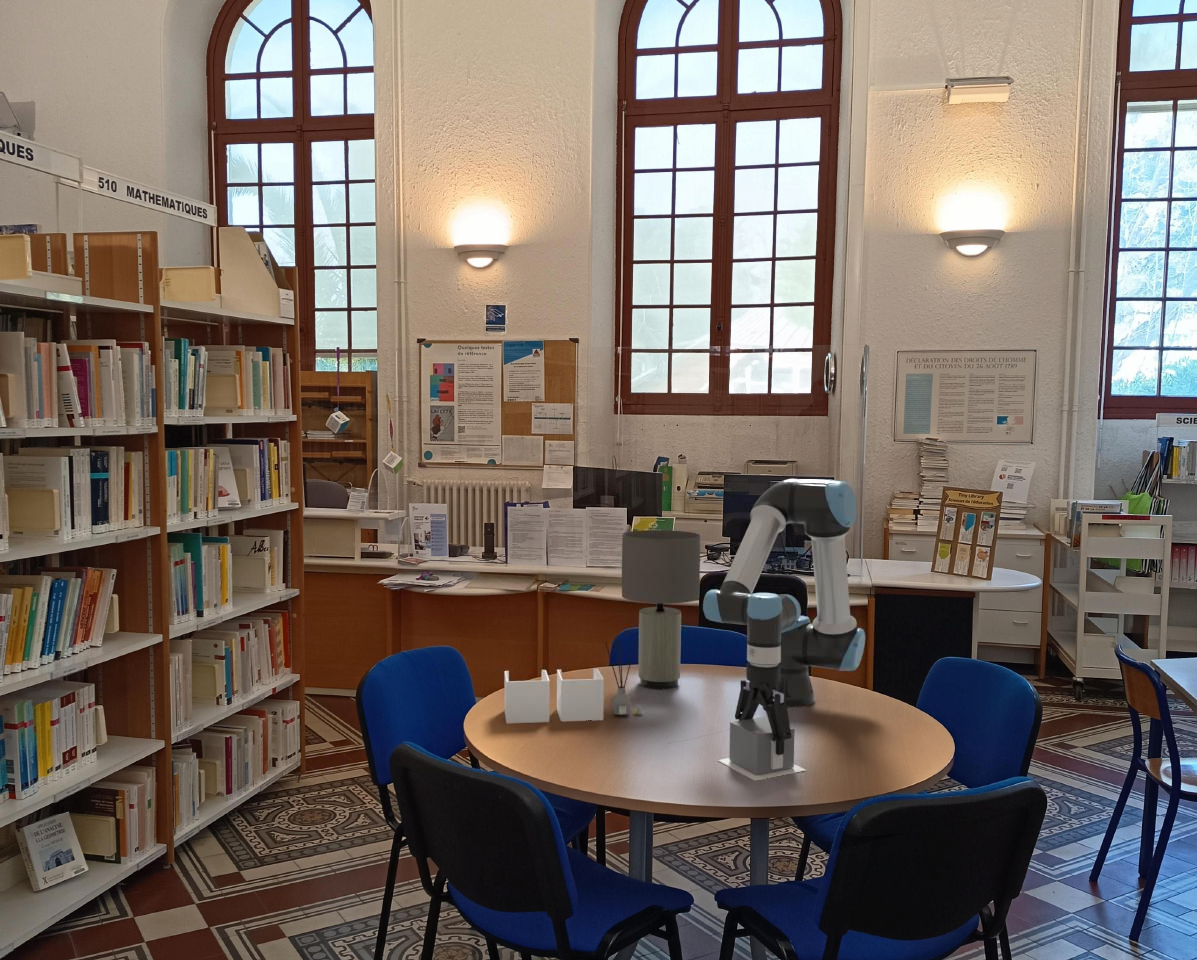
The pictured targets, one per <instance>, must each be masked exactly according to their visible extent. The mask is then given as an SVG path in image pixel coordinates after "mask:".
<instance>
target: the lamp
mask: <svg viewBox="0 0 1197 960" xmlns="http://www.w3.org/2000/svg"><path fill="white" fill-rule="evenodd" d="M621 540H622V543H621V548H622V549H621V597H622V598H623V599H625V600H628V601H632V602H638V603H645V604H646V603H647V604H656V606H652V607H651V606H650V607H643V608H641V609H639V611H638V612H639V613H638V615H639V616H638V678H639V679H640V681H639V683H640V686H641V687H644V688H646V689H650V690H670V689H671V690H672V689H675V688H677V687H678V686H679V680H680V678H681V649H682V648H681V647H682V646H681V644H682V643H681V642H682V640H681V639H682V638H681V637H682V636H681V634H682V611H681V610H680V609H677V608H674V607H667V606H664V605H665V604H684V603H691V602H695V601H697V600H699V598H700V587H701V586H700V584H701V583H700V581H701V580H700V579H701V573H700V572H701V534H699V533H696V532H691V531H685V530H684V531H681V530H666V529H665V530H664V529H662V530H661V529H660V530H659V529H656V530H655V529H650V530H649V529H647V530H632V531H626V532H625V531H624V532H623V533H622V539H621Z"/></svg>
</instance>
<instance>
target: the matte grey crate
mask: <svg viewBox="0 0 1197 960" xmlns="http://www.w3.org/2000/svg"><path fill="white" fill-rule="evenodd" d="M790 729H791V736H792V737H791V739H785V741H784V754H783V768H778V769H771V739H773V738H774V736H773V733H772V730H771V726H770V723H769V720H768V716H767V715H766V716H760V717H753V719H747V720H741V721H739V720H736V721H735V720H734V721H730V722H729V757H728V758H729V760H730V761H732V762H734V763H735V764H737V765H739V766H741V767H743V768H745V769H747V770H749V771H751V772H752V773H754V774H756V775H758V774H763V773H768V772H773V771H778V770H784V769H789V768H794V764H795V728H794V727H791V726H790ZM785 734H786V733H785ZM778 735H779V733H778Z"/></svg>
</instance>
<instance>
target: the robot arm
mask: <svg viewBox="0 0 1197 960" xmlns="http://www.w3.org/2000/svg"><path fill="white" fill-rule="evenodd" d="M857 510H858V505H857V499H856V495H855V492H854V489H853V487H852V486H851V485H850V484H849V483H848V482H846V481H843V480H842V481H841V480H834V479H811V478H809V479H806V478H805V479H804V478H803V479H802V478H801V479H800V478H789V479H784V480H781V481H779V482H777V483H775V484H773V485H772V486H771V487H770V488H768V489H767V490H766V491H764V492H763V493H762V494H761V495H760V496H759V498H758V499H757V500H756V502H755V503H754V505H753V506H752V509H751V511H750V514H749V518H750V522H749V525H748V527H747V529H746V531H745V534H744V536H743V538H742V541H741V542H740V544H739V547H738V549H737V551H736V554H735V556H734V558H733V560H732V563H731V565H730V567H729V569H728V571H727V574H726V576H725V578H724V580H723V583H722V584H721V586H720V588H719V589H717V588H716V589H710V590H708V591H707V592H706V594H705V595H704V599H703V603H702V611H703V613H704V616H705V619H707V620H709V621H712V622H716V623H721V624H724V623H725V624H732V625H733V624H735V625H742V626H743V625H744V626H747V631H746V632H747V633H746V635H747V636H746V637H747V638H746V640H747V641H746V645H747V647H746V661H748V662H747V663H746V671H745V672H746V677H745V678H746V679H742V680H740V691H739V696H738V700H737V705H736V709H735V714H734V719H735V720H736V721H741V720H747V719H753V718H754V717H755V715H756V712H757V710H758V708H759V705H761V707H762V709H763V710H764V711H765V713H766V716H767V717H768V720H769V723H770V726H771V730H772V733H773V736H774V738H773V739H771V769H778V768H783V754H784V741H785V739H791V737H792V736H791V729H790V727H791V725H790V718H789V712H788V708H789V707H791V708H792V707H795V708H796V707H804V706H809V705H811V704H813V703H814V702H815V692H814V688H813V685H812V681H811V677H810V674H809V667H815V668H816V667H817V668H822V669H823V668H824V669H830V670H837V671H839V672H841V671H848V672H854V671H855V670H857V668H858V667H859V666H860V663H861V661H862V657H863V654H864V649H865V643H866V633H865V630H864V629H863V628H861V627H858V625H857V623H858V622H857V620H856V618H855V617H854V616H852V615H851V609H850V608H851V606H850V594H849V592H850V591H849V579H848V567H847V552H846V551H847V549H846V535H848V533H849V532H850V531H851V527H852V526H854V525H855V523H856V522H857V520H856V519H857ZM788 524H801V525H802V524H803V527H804V533H805V535H807V536H808V537H809V538H810V539H811V541H810V542H811V550H812V551H811V552H812V566H813V576H814V577H813V578H814V587H815V589H814V591H815V598H816V599H815V601H816V610H817V611H816V612H817V615H816V617H815V618H814V619H813V621H812V623H811V619H810V618H809V617H808V616H805V615H801V612H802V610H801V604H800V603H799V601H798V599H796V598H795V597H794V596H793V595H790V594H776V593H772V592H771V593H770V592H756V593H755V592H754V590H755V587H756V585H757V583H758V581H759V579H760V576H761V573H762V571H763V570H764V569H763V568H765V567H764V566H765V565H766V562H767V560H768V558H769V556H770V553H771V550H772V548H773V546H774V544H775V543H776V542H775V541H776V539H777V537H778V534H779V533H782V532H783V531H784V530H785V529H786V526H787V525H788ZM753 592H754V593H753ZM778 733H779V735H778ZM785 733H786V734H785Z"/></svg>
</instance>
